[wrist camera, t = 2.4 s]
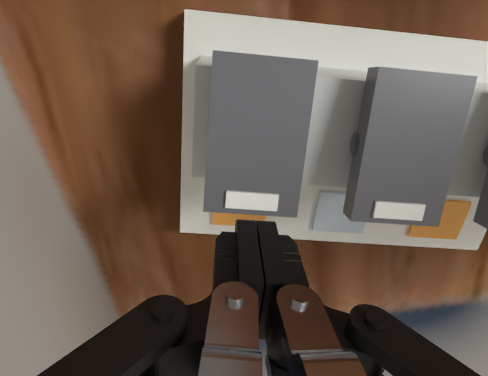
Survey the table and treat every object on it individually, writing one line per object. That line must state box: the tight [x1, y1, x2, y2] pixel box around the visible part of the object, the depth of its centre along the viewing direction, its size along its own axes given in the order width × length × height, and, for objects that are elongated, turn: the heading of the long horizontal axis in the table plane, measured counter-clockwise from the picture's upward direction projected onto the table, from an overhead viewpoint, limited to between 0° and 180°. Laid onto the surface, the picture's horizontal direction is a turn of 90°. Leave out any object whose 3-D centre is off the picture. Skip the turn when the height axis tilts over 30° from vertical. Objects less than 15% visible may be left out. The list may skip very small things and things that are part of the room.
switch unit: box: [180, 9, 488, 250], centre depth 22 cm, size 22×14×6 cm, turn 84°
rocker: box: [203, 50, 319, 218], centre depth 16 cm, size 4×7×2 cm, turn 175°
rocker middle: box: [343, 67, 478, 227], centre depth 17 cm, size 4×7×2 cm, turn 174°
